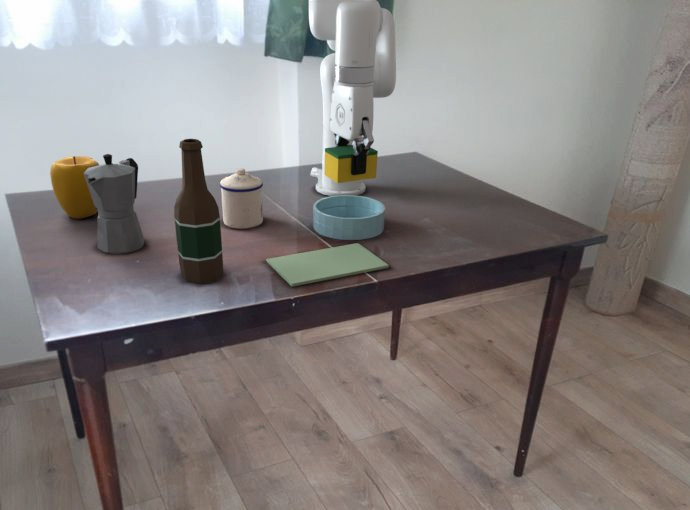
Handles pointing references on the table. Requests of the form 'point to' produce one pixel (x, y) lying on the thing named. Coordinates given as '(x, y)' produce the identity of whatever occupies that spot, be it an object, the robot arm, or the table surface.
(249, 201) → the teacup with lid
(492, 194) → the table surface
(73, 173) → the apple
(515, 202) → the table surface
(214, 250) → the beer bottle
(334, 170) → the sponge
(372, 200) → the bowl
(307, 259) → the mat
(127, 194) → the coffeepot
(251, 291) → the table surface
